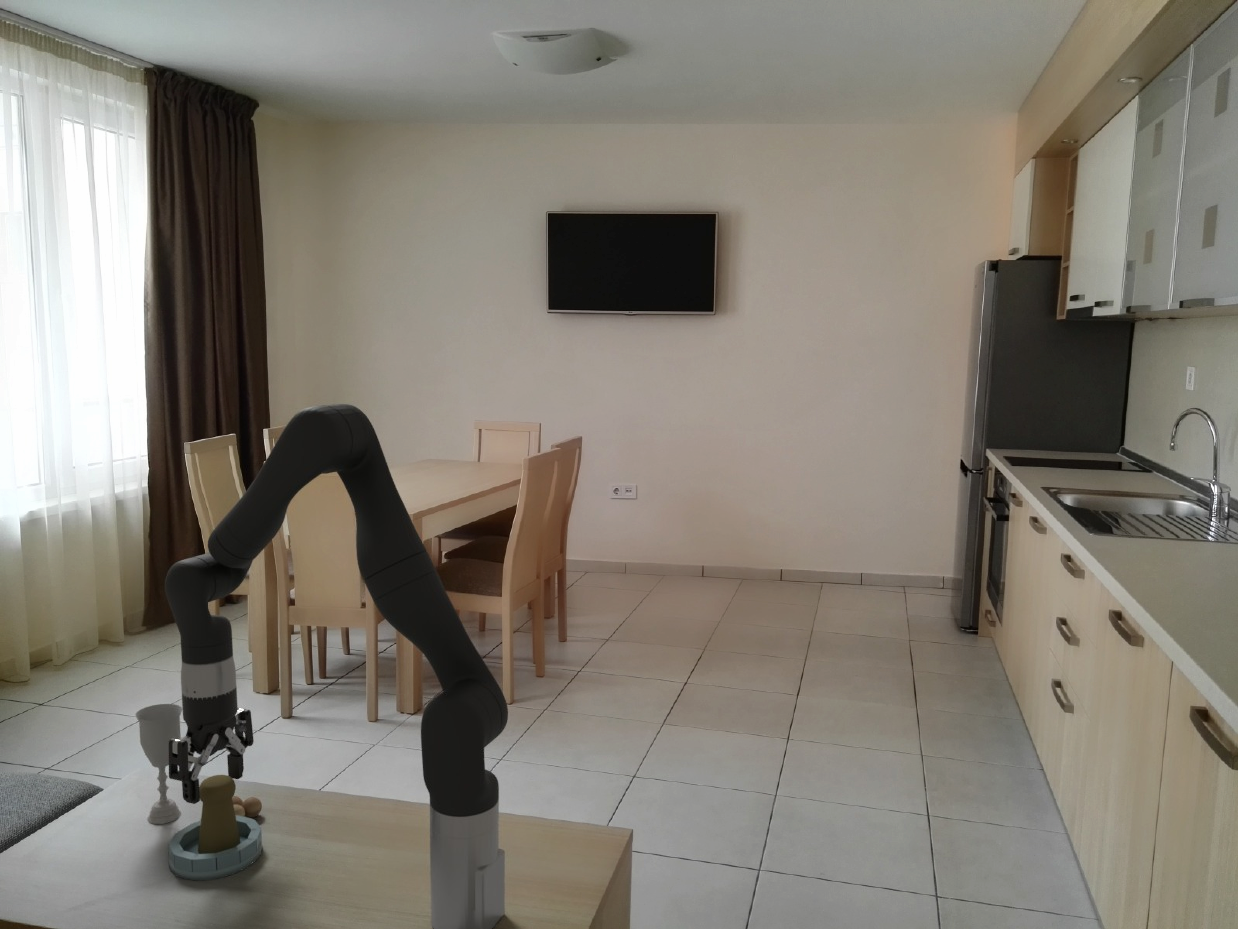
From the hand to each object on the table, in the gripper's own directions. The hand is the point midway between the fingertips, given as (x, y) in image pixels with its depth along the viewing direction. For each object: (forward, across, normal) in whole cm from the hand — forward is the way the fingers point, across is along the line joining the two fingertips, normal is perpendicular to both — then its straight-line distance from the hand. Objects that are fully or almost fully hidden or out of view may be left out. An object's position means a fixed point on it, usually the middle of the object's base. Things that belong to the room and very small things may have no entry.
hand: (214, 789), depth 141 cm
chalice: (+11, +6, +17) cm, 21 cm away
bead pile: (+11, +10, +5) cm, 16 cm away
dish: (+11, 0, 0) cm, 11 cm away
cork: (+10, +1, 0) cm, 10 cm away
